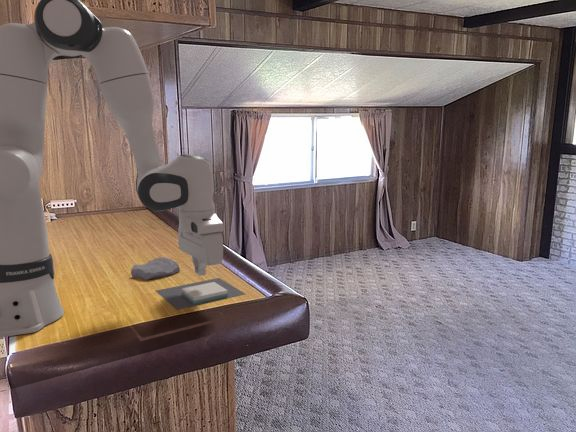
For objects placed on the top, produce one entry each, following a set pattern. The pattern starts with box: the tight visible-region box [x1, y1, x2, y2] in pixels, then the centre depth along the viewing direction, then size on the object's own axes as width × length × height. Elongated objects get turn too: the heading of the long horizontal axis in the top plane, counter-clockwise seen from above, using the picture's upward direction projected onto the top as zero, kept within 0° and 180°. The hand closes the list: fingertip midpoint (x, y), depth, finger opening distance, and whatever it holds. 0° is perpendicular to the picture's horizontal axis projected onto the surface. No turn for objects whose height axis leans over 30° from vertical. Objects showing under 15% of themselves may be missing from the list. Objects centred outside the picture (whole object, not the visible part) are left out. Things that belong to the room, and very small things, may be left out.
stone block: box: [130, 256, 181, 281], centre depth 137 cm, size 12×5×10 cm
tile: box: [181, 282, 228, 304], centre depth 118 cm, size 9×2×8 cm
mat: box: [155, 277, 246, 311], centre depth 121 cm, size 18×16×1 cm
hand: (200, 274), depth 119 cm, fingers closed
